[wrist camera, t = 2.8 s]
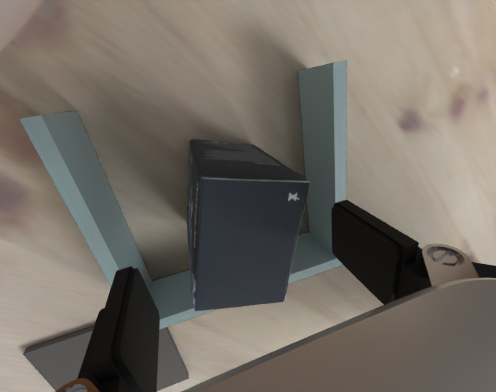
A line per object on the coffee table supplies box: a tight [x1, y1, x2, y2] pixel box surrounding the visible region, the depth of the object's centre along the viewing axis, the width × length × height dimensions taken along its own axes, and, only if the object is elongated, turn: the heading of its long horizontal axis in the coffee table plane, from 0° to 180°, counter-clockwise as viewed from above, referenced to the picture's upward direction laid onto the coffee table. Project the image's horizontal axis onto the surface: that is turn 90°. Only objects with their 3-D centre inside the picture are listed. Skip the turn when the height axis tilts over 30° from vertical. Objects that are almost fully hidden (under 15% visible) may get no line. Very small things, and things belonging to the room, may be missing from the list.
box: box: [187, 139, 310, 311], centre depth 17 cm, size 8×6×11 cm
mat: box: [23, 325, 189, 391], centre depth 26 cm, size 12×12×1 cm
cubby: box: [19, 60, 347, 330], centre depth 20 cm, size 19×17×5 cm
